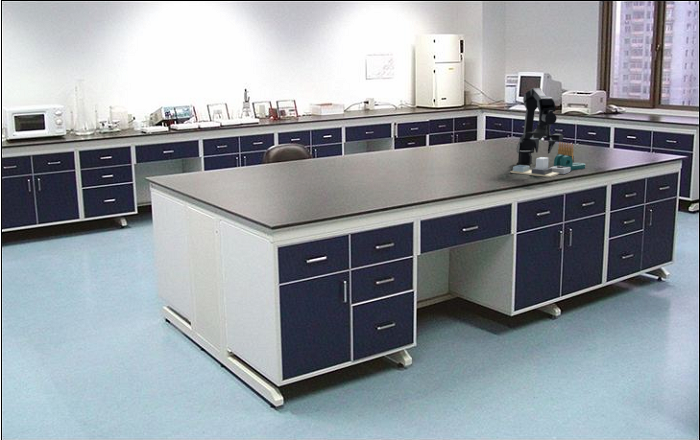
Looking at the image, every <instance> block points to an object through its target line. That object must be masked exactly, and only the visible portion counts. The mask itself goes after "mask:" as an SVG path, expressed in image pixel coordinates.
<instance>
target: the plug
mask: <svg viewBox="0 0 700 440" xmlns="http://www.w3.org/2000/svg"><path fill="white" fill-rule="evenodd" d="M549 159H550V157H547V156H546V157H544V156H540V157H537V158H536V159H535V168H536V169H538V170H546V169H548V168H549Z"/></svg>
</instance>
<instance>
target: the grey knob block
mask: <svg viewBox="0 0 700 440" xmlns="http://www.w3.org/2000/svg"><path fill="white" fill-rule="evenodd" d="M550 168H552V172H556V173H559V174H560V175H565V174H568V173H571V171H572V170H571V167H564V166H554V165H553V166H551V167H550ZM559 174H558V175H559Z"/></svg>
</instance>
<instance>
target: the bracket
mask: <svg viewBox="0 0 700 440" xmlns="http://www.w3.org/2000/svg"><path fill="white" fill-rule="evenodd" d="M566 162H567V163H566ZM554 166H564V167H571V171H574V170H575V171H576V170H582V169H583V170H584V169H586V163H584V162H574V163H573V159H572V157H570V156H564V155H560V154H559V155H557V154H556V156H555V157H554V159H553V167H554Z"/></svg>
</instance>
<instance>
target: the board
mask: <svg viewBox="0 0 700 440" xmlns="http://www.w3.org/2000/svg"><path fill="white" fill-rule="evenodd" d="M510 173H511V174H512V173H513V174H518V175H519V174H521V175H529V176H536V177H545V178H552V177H555V176H557V175H558V176H559V173H556V172H551V173H548V174H545V175H542V174H533V173H532V169H530V170H528V171H525V172H519V171H513V170H510Z"/></svg>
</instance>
